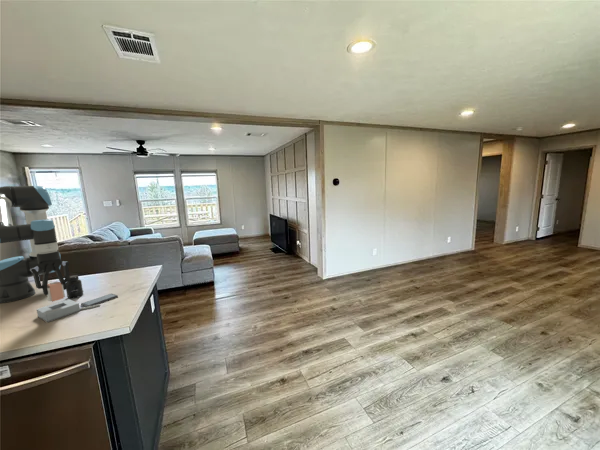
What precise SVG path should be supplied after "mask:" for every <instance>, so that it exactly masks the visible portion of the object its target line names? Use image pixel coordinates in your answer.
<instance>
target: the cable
mask: <svg viewBox="0 0 600 450" xmlns="http://www.w3.org/2000/svg"><path fill="white" fill-rule="evenodd" d="M101 304H102V303H100V304H97V305H93V306H88V307H84V306H83V307H80V311H83V310H88V309H93V308H97V307H100V306H101Z"/></svg>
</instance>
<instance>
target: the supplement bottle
mask: <svg viewBox="0 0 600 450" xmlns="http://www.w3.org/2000/svg"><path fill="white" fill-rule="evenodd" d="M69 276H70V281H68V282H66V290H65V291H66V297H67V299H70V300H72V299H75V298H76V299H77V298H80V297H82V296H83V295H84V291H83V289H84V288H83V284H82V280H81V279H79V275H78V274H76V275H69Z"/></svg>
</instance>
